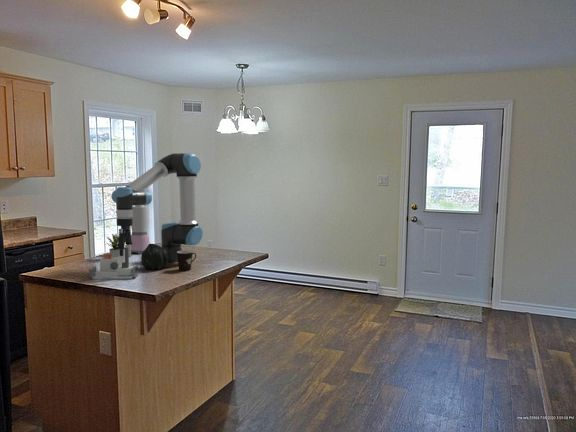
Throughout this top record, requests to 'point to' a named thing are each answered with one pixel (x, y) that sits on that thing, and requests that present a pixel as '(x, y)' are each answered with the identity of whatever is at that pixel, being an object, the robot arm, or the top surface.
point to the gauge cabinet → (109, 264)
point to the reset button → (107, 255)
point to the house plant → (114, 246)
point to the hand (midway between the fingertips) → (125, 259)
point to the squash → (154, 257)
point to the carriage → (125, 265)
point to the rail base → (111, 274)
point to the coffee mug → (185, 260)
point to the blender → (139, 229)
